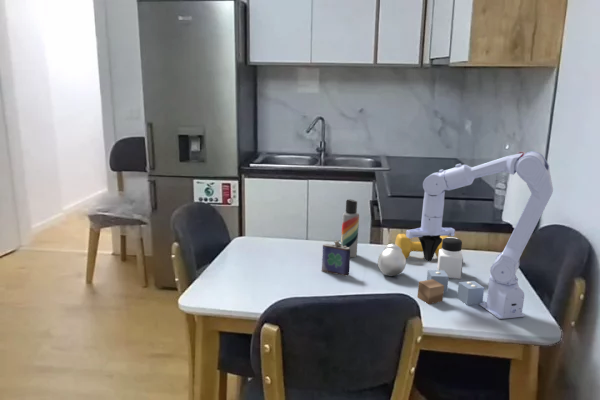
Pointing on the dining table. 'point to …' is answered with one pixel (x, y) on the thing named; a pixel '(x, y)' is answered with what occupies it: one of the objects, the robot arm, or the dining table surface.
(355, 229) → the lotion bottle
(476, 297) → the dotted block
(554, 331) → the dining table surface
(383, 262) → the silver round ornament
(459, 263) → the medicine bottle
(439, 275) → the dotted block
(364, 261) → the dining table surface
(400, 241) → the dumbbell
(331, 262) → the flask
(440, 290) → the walnut block
